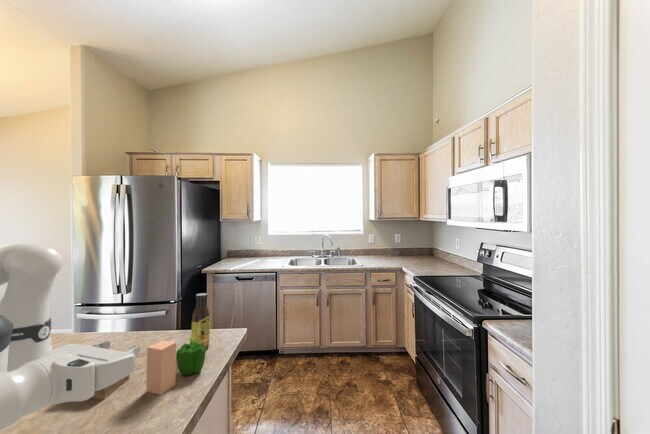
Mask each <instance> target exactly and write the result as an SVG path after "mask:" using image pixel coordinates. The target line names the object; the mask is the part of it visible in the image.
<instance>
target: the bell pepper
mask: <svg viewBox="0 0 650 434" xmlns="http://www.w3.org/2000/svg"><path fill="white" fill-rule="evenodd" d="M206 351H207V349H206V347H205V345H204V344H199V343H197V342H193V337H191V336H190V337H189V343H183V344H182V345H181V346H180V348H178V349H177V350H176V365H177V369H178V372H179V373H180V374H181V375H182V376H191V375H192V374H198V373H200V372H201V370H202V369H203V367H204V363H205V361H206V360H205V359H206Z"/></svg>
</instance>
